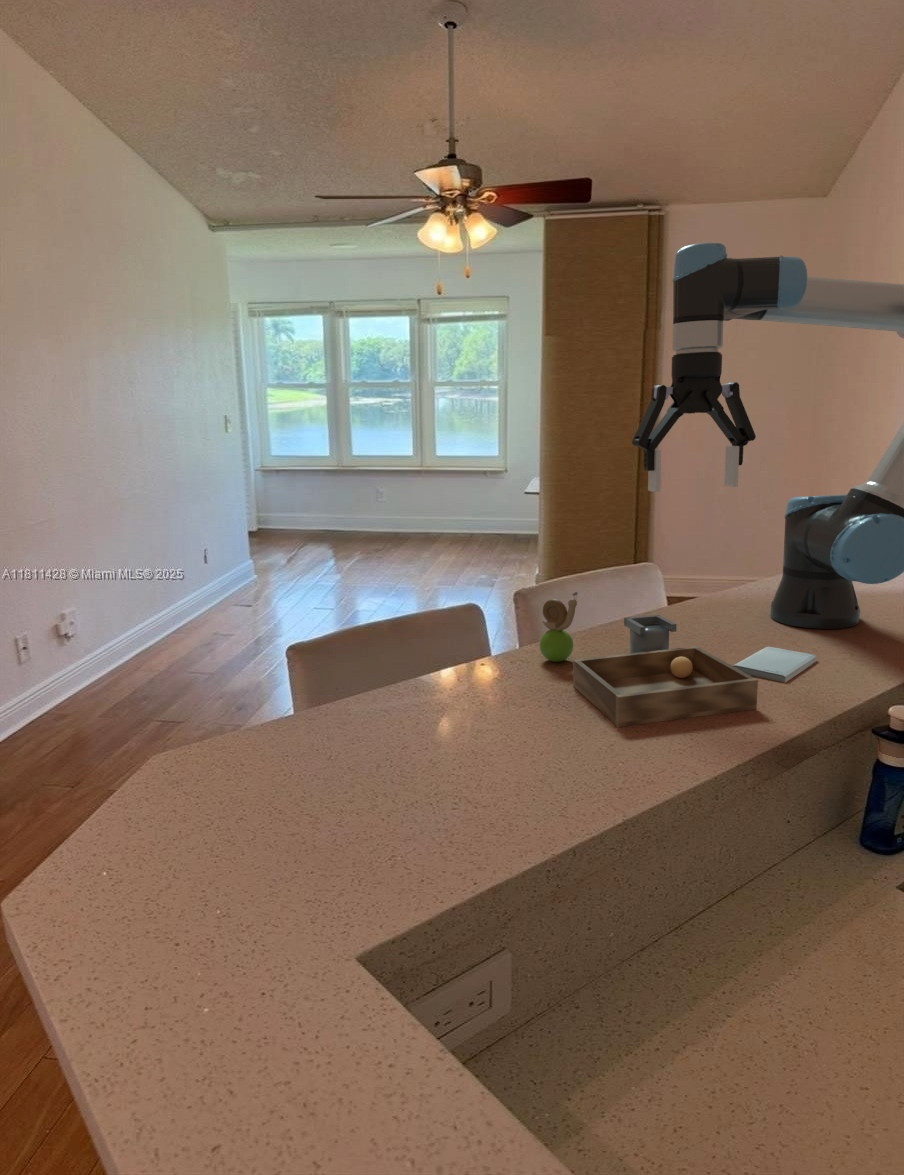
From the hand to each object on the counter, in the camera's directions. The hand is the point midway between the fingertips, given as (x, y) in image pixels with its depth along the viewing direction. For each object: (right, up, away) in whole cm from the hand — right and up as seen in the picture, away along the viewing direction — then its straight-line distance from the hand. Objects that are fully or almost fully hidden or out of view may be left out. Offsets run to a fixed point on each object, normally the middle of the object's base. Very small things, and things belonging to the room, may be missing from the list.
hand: (692, 489), depth 128 cm
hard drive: (+11, -29, -5) cm, 31 cm away
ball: (-5, -28, -10) cm, 30 cm away
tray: (-9, -31, -16) cm, 36 cm away
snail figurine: (-21, -28, +1) cm, 35 cm away
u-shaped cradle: (-8, -28, -2) cm, 29 cm away
